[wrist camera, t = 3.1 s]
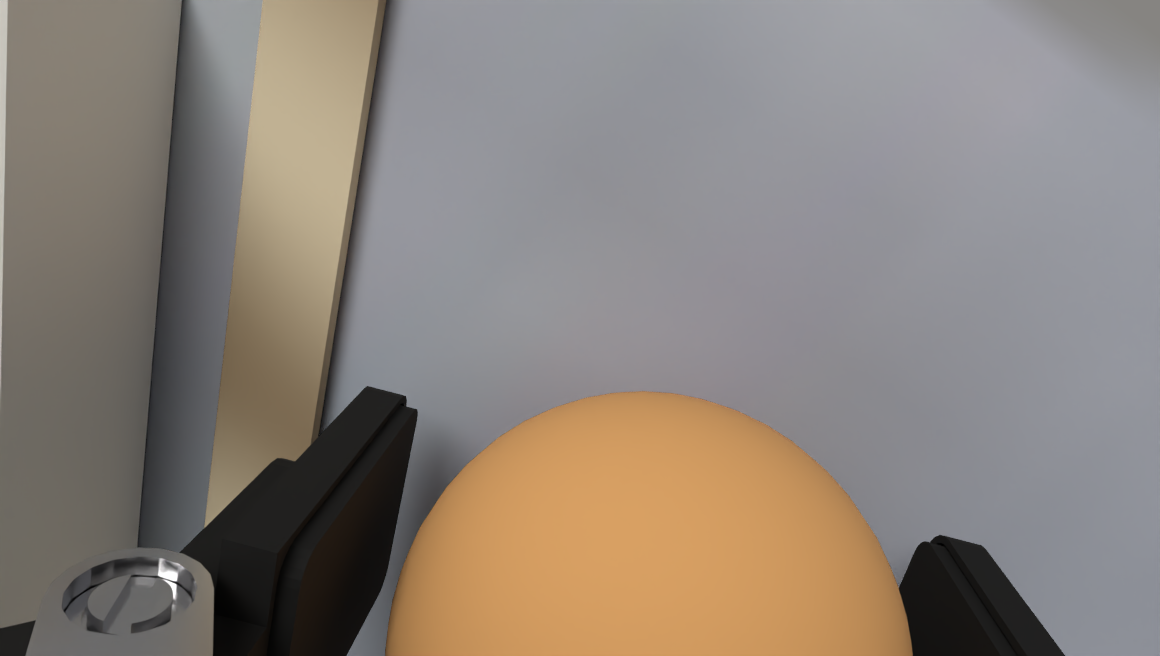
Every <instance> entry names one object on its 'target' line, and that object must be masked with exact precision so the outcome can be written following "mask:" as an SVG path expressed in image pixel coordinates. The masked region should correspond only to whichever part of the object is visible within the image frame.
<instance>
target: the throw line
mask: <svg viewBox="0 0 1160 656" xmlns="http://www.w3.org/2000/svg"><path fill="white" fill-rule="evenodd" d="M385 6H386V0H263V4H262V13H261V22H260V31H259V40H258V49H257V58H256V67H255V76H254V85H253V94H252V103H251V112H250V121H249V130H248V139H247V148H246V157H245V166H244V175H243V184H242V193H241V202H240V211H239V220H238V229H237V238H236V247H235V256H234V265H233V274H232V283H231V292H230V301H229V310H228V319H227V328H226V337H225V346H224V355H223V364H222V373H221V382H220V391H219V400H218V409H217V418H216V427H215V436H214V445H213V454H212V463H211V472H210V481H209V490H208V499H207V508H206V517H205V526H204V528H205V527H206V526H207V525H208V524H209V523H210V522H211V521H212V520H213V519H214V518H215V517H216V516H217V515H218V514H219V513H220V512H221V511H222V510H223V509H224V508H225V507H226V506H227V505H228V504H229V503H230V502H231V501H232V500H233V499H234V498H235V497H236V496H237V495H238V494H239V493H240V492H241V491H242V490H243V489H245V488H246V487H247V486H248V485H249V484H250V483H251V482H252V481H253V480H254V479H255V478H256V477H257V476H258V475H259V474H260V473H261V472H262V471H263V470H264V469H265V468H266V467H267V466H268V465H269V464H270V463H271V462H272V461H274V460H275V459H277V458H284V459H288V460H292V461H296V460H297V459H298V458H299V457H300V456H301V455H302V454H303V453H304V451H305V450H306V449H307V448H308V447H309V446H310V445H311V444H312V443H313V442H314V441H315V440H316V439H317V438H318V435H319V429H320V422H321V416H322V410H323V403H324V397H325V390H326V384H327V378H328V371H329V365H330V358H331V352H332V346H333V339H334V333H335V326H336V320H337V313H338V307H339V301H340V294H341V288H342V281H343V275H344V269H345V262H346V256H347V249H348V243H349V237H350V230H351V224H352V217H353V211H354V205H355V198H356V192H357V185H358V179H359V172H360V166H361V160H362V153H363V147H364V140H365V134H366V128H367V121H368V115H369V108H370V102H371V96H372V89H373V83H374V76H375V70H376V63H377V57H378V51H379V44H380V38H381V31H382V25H383V19H384V12H385Z"/></svg>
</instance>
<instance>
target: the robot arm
mask: <svg viewBox="0 0 1160 656" xmlns="http://www.w3.org/2000/svg"><path fill="white" fill-rule="evenodd" d="M406 402H407V400H406V396H403V395H400V394H396V393H392V392H388V391H384V390H380V389H376V388H373V387H369V386H367V387H366V388H364V389H363V390H362V391H361V392H360V394H359V395H358V396H357V397H356V398H355V399H354V400H353V401H352V402H351V403H350V404H349V405H348V406H347V407H346V408H345V409H344V410H343V411H342V412H341V414H340V415H339V416H338V417H337V418H336V419H335V420H334V421H333V422H332V423H331V424H330V425H329V426H328V427H327V428H326V429H325V430H324V431H323V433H322V434H321V435H320V436H319V437H318V438H317V439H316V440H315V441H314V442H313V443H312V444H311V445H310V446H309V447H308V448H307V449H306V450H305V451H304V453H303V454H302V455H301V456H300V457H299V458H298V459H297V460H296V461H292V460H288V459H284V458H277V459H275V460H274V461H272V462H271V463H270V464H269V465H268V466H267V467H266V468H265V469H264V470H263V471H262V472H261V473H260V474H259V475H258V476H257V477H256V478H255V479H254V480H253V481H252V482H251V483H250V484H249V485H248V486H247V487H246V488H245V489H243V490H242V491H241V492H240V493H239V494H238V495H237V496H236V497H235V498H234V499H233V500H232V501H231V502H230V503H229V504H228V505H227V506H226V507H225V508H224V509H223V510H222V511H221V512H220V513H219V514H218V515H217V516H216V517H215V518H214V519H213V520H212V521H211V522H210V523H209V524H208V525H207V526H206V527H205V528H204V529H203V530H202V531H201V532H200V533H199V534H198V535H197V536H196V537H195V538H194V539H193V540H192V541H191V542H190V543H189V544H188V545H187V546H186V547H185V548H184V549H183V550H182V551H181V552H180V553H178V552H174V551H170V550H166V549H159V548H130V549H122V550H114V551H110V552H107V553H103V554H100V555H96V556H93V557H89V558H87V559H85V560H83V561H82V562H80V563H78V564H76V565H74V566H72V567H70V568H68V569H67V570H65V571H64V572H63V573H62V574H61V575H60V576H58V577H57V578H56V579H55V580H54V581H53V582H51V584H50V586H49V588H48V589H47V591H46V593H45V595H44V596H43V598H42V601H41V605H40V608H39V612H38V615H37V618H36V620H34V621H30V622H26V623H21V624H17V625H13V626H8V627H4V628H0V656H346V655H347V653H348V652H349V650H350V648H351V646H352V644H353V642H354V640H355V638H356V636H357V635H358V633H359V631H360V629H361V627H362V625H363V623H364V621H365V620H366V618H367V616H368V614H369V612H370V610H371V608H372V606H373V604H374V603H375V601H376V599H377V597H378V595H379V593H380V591H381V588H382V586H383V583H384V580H385V576H386V573H387V569H388V564H389V559H390V554H391V549H392V544H393V539H394V534H395V529H396V524H397V519H398V513H399V508H400V503H401V498H402V493H403V488H404V483H405V478H406V473H407V468H408V463H409V458H410V452H411V447H412V442H413V437H414V432H415V427H416V422H417V414H418V412H417V409H413V408H409V407H406ZM899 591H900V595H901V598H902V602H903V605H904V609H905V612H906V615H907V620H908V626H909V632H910V638H911V644H912V652H913V656H1065V655H1064V654H1063V652H1062V651H1061V650H1060V648H1059V647H1058V646H1057V644H1056V643H1055V642H1054V640H1053V639H1052V638H1051V636H1050V635H1049V633H1048V632H1047V631H1046V629H1045V628H1044V627H1043V625H1042V624H1041V623H1040V621H1039V620H1038V619H1037V617H1036V616H1035V615H1034V613H1033V612H1032V611H1031V609H1030V608H1029V607H1028V605H1027V604H1026V603H1025V601H1024V600H1023V599H1022V597H1021V596H1020V595H1019V593H1018V592H1017V591H1016V589H1015V588H1014V587H1013V585H1012V584H1011V582H1010V581H1009V580H1008V578H1007V577H1006V576H1005V574H1004V573H1003V572H1002V570H1001V569H1000V568H999V566H998V565H997V564H996V562H995V561H994V560H993V558H992V557H991V556H990V554H989V553H988V552H987V550H986V549H985V548H984V547H983V546H981V545H977V544H974V543H970V542H966V541H962V540H958V539H954V538H950V537H947V536H942V535H939V536H936V537H935V538H934V539H933V540H932V541H931V542H930V543H929V542H925V541H924V542H922V543H921V544H920V545H919V546H918V547H917V549H916V550H915V552H914V555H913V557H912V559H911V562H910V564H909V566H908V568H907V571H906V573H905V575H904V578H903V580H902V582H901V584H900V587H899Z"/></svg>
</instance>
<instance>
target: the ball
mask: <svg viewBox="0 0 1160 656" xmlns="http://www.w3.org/2000/svg"><path fill="white" fill-rule="evenodd" d="M385 656H913V652H912V644H911V638H910V632H909V626H908V620H907V615H906V612H905V609H904V605H903V602H902V598H901V595H900V591H899V588H898V585H897V583H896V580H895V578H894V575H893V572H892V570H891V567H890V565H889V563H888V561H887V559H886V556H885V554H884V552H883V550H882V548H881V546H880V544H879V541H878V539H877V537H876V536H875V534H874V533H873V531H872V530H871V528H870V527H869V525H868V524H867V522H866V521H865V519H864V518H863V516H862V515H861V513H860V512H859V510H858V509H857V507H856V506H855V504H854V503H853V501H852V500H851V498H850V497H849V495H848V494H847V493H846V492H845V491H844V490H843V489H842V487H841V486H840V485H839V484H838V483H837V482H836V481H835V480H834V479H833V477H832V476H831V475H830V474H829V473H828V472H827V471H826V470H825V469H824V468H823V467H822V466H820V465H819V464H818V463H817V462H816V461H815V460H814V459H812V458H811V457H810V456H809V455H808V454H807V453H805V452H804V451H803V450H802V449H801V448H799V447H798V446H797V445H796V444H795V443H794V442H792V441H791V440H789V439H788V438H786V437H785V436H783V435H782V434H780V433H778V432H777V431H775V430H774V429H772V428H771V427H769V426H767V425H766V424H764V423H762V422H760V421H757V420H755V419H753V418H751V417H749V416H747V415H745V414H743V413H740V412H738V411H736V410H733V409H731V408H728V407H725V406H722V405H719V404H716V403H712V402H709V401H706V400H703V399H699V398H694V397H689V396H684V395H679V394H673V393H660V392H646V391H640V392H620V393H610V394H605V395H599V396H593V397H588V398H584V399H580V400H577V401H574V402H571V403H568V404H564V405H561V406H558V407H555V408H552V409H550V410H548V411H546V412H543V413H541V414H539V415H537V416H535V417H533V418H530V419H528V420H526V421H524V422H522V423H521V424H519V425H517V426H516V427H514V428H513V429H511V430H509V431H508V432H506V433H505V434H503V435H502V436H500V437H499V438H497V439H496V440H495V441H494V442H493V443H491V444H490V445H489V446H488V447H487V448H485V449H484V450H483V451H482V452H481V453H479V454H478V455H477V456H476V457H475V458H474V459H473V460H471V461H470V462H469V463H468V464H467V465H466V466H465V467H464V468H463V469H462V470H461V471H460V473H459V474H458V475H457V476H456V477H455V478H454V479H453V480H452V481H451V483H450V484H449V485H448V486H447V487H446V489H445V490H444V492H443V493H442V495H441V496H440V498H439V499H438V501H437V502H436V504H435V505H434V507H433V508H432V510H431V511H430V513H429V514H428V516H427V517H426V519H425V520H424V522H423V523H422V525H421V526H420V528H419V531H418V533H417V535H416V537H415V539H414V541H413V544H412V546H411V548H410V550H409V552H408V555H407V557H406V560H405V562H404V565H403V567H402V570H401V573H400V576H399V580H398V583H397V587H396V590H395V594H394V597H393V601H392V607H391V613H390V618H389V624H388V632H387V641H386V649H385Z"/></svg>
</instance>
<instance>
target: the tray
mask: <svg viewBox="0 0 1160 656" xmlns="http://www.w3.org/2000/svg"><path fill="white" fill-rule="evenodd" d="M181 4H182V0H0V628H4V627H8V626H13V625H17V624H21V623H26V622H30V621H34V620H36V618H37V615H38V612H39V608H40V605H41V601H42V598H43V596H44V595H45V593H46V591H47V589H48V588H49V586H50V584H51V582H53V581H54V580H55V579H56V578H57V577H58V576H60V575H61V574H62V573H63V572H64V571H65V570H67V569H68V568H70V567H72V566H74V565H76V564H78V563H80V562H82V561H83V560H85V559H87V558H89V557H93V556H96V555H100V554H103V553H107V552H110V551H114V550H122V549H130V548H137V543H138V531H139V518H140V506H141V494H142V482H143V469H144V457H145V445H146V433H147V420H148V408H149V396H150V384H151V371H152V359H153V347H154V335H155V322H156V310H157V298H158V286H159V273H160V261H161V249H162V237H163V225H164V212H165V200H166V188H167V176H168V163H169V151H170V139H171V127H172V114H173V102H174V90H175V78H176V65H177V53H178V41H179V29H180V16H181Z"/></svg>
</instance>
